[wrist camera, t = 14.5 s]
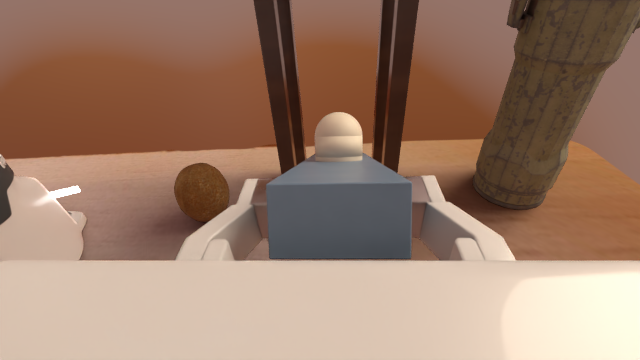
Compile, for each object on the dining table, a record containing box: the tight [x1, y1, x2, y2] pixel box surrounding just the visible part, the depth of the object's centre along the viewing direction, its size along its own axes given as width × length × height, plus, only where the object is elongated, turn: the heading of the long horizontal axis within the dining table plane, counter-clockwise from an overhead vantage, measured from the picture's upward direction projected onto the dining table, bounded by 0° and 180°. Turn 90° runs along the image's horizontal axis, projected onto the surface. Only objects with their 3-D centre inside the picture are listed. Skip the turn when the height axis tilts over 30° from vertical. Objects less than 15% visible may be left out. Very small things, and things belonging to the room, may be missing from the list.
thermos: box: [473, 0, 640, 209], centre depth 31 cm, size 9×12×35 cm
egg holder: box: [266, 112, 412, 259], centre depth 18 cm, size 18×4×5 cm
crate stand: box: [254, 0, 419, 174], centre depth 34 cm, size 11×13×29 cm
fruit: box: [174, 163, 229, 222], centre depth 38 cm, size 6×6×8 cm
